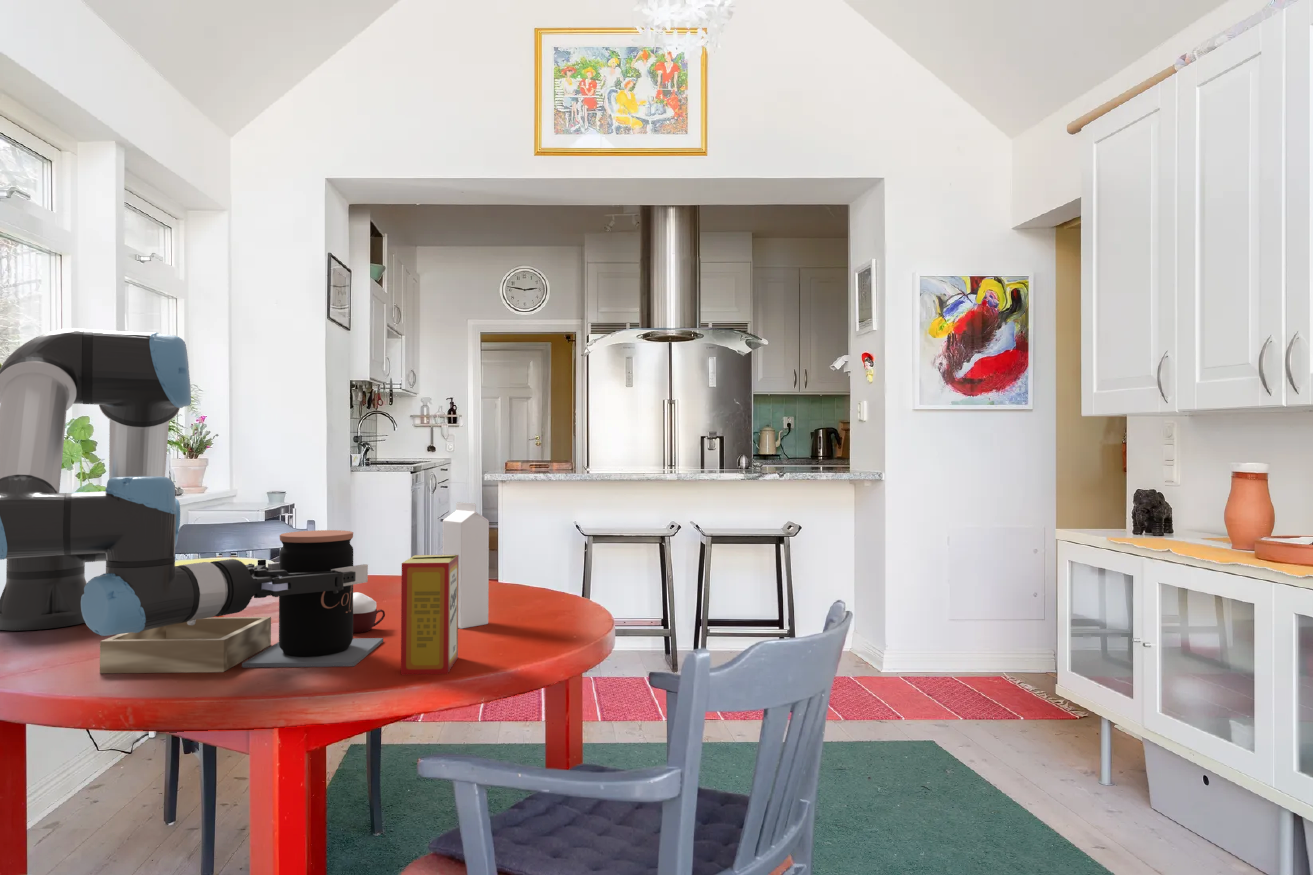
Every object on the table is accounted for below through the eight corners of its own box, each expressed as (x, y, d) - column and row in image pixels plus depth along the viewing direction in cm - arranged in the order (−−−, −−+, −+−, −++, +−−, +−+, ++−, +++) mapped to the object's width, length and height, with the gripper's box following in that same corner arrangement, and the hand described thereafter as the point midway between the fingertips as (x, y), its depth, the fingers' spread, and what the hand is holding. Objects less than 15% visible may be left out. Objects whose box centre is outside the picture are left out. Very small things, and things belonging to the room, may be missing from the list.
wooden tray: (162, 645, 138) (162, 617, 138) (270, 644, 139) (271, 616, 139) (99, 673, 121) (100, 641, 121) (223, 671, 122) (223, 640, 122)
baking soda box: (447, 673, 121) (448, 560, 122) (400, 674, 121) (401, 560, 121) (457, 657, 131) (458, 552, 131) (414, 658, 130) (414, 552, 131)
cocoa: (386, 629, 153) (390, 561, 154) (377, 635, 147) (381, 565, 148) (331, 627, 152) (336, 559, 153) (320, 633, 146) (325, 562, 147)
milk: (460, 629, 152) (461, 504, 152) (441, 624, 156) (441, 502, 156) (489, 623, 156) (489, 502, 156) (469, 619, 160) (469, 501, 160)
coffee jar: (327, 659, 126) (328, 537, 127) (263, 656, 129) (264, 535, 129) (366, 643, 137) (366, 530, 137) (306, 640, 139) (306, 529, 139)
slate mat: (283, 642, 140) (283, 638, 140) (383, 641, 141) (383, 637, 141) (241, 667, 124) (241, 663, 124) (354, 666, 125) (354, 661, 125)
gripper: (153, 609, 123) (279, 587, 142) (274, 625, 111) (393, 600, 130) (154, 556, 123) (279, 542, 142) (274, 567, 111) (393, 550, 130)
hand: (334, 570), depth 136 cm, fingers open, 13 cm apart
